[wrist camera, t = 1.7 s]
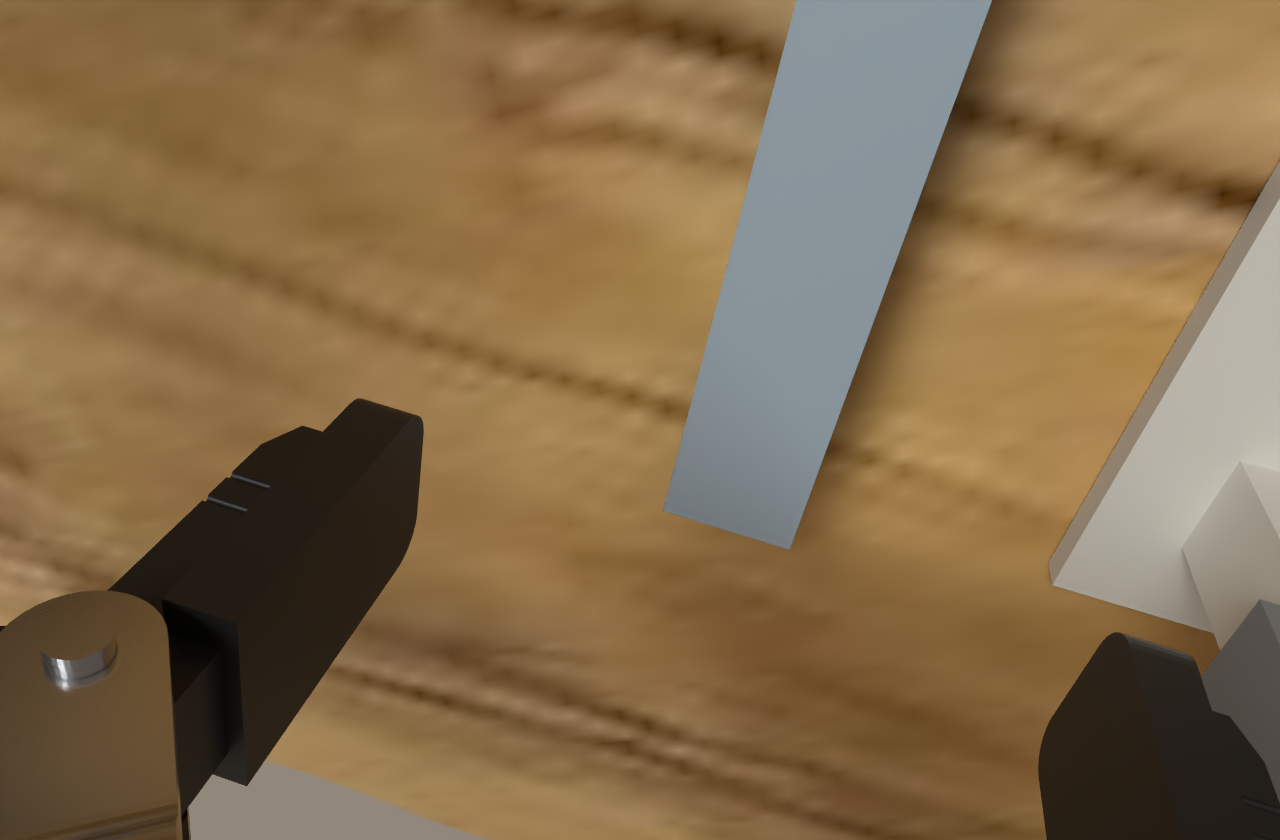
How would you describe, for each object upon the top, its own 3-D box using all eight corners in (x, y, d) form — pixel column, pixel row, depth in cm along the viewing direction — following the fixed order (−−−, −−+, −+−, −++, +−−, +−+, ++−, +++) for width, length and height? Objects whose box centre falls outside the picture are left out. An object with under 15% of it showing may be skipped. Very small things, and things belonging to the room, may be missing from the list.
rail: (887, -294, 20) (879, -320, 16) (1059, -257, 19) (1093, -274, 16) (694, 423, 30) (663, 511, 26) (805, 457, 29) (789, 549, 26)
